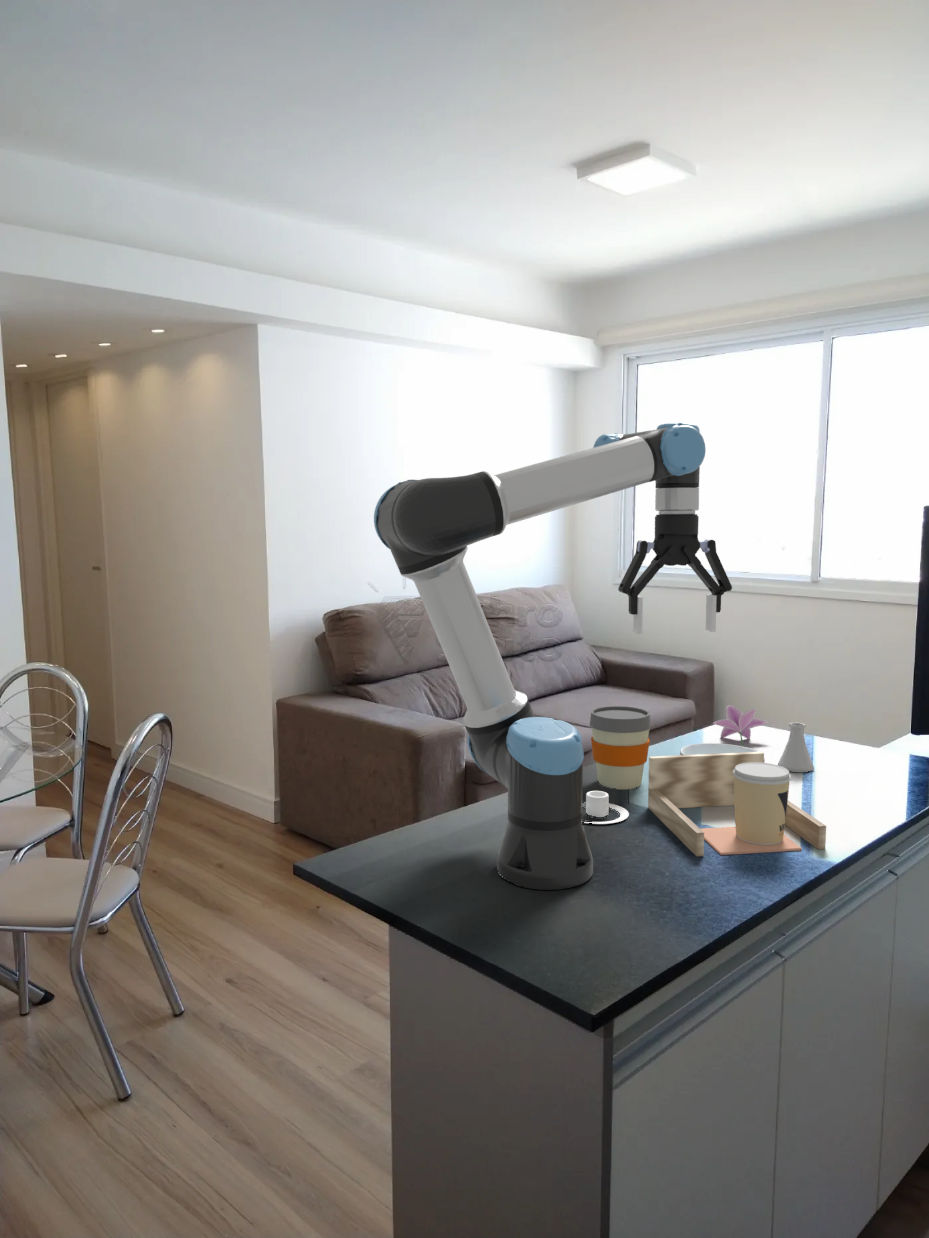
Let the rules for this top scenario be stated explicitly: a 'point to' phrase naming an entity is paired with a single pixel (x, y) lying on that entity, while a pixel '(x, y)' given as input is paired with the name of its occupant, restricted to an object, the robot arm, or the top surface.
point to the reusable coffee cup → (620, 745)
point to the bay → (710, 794)
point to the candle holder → (602, 807)
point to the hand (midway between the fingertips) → (674, 631)
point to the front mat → (742, 842)
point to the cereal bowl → (713, 749)
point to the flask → (796, 751)
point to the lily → (739, 722)
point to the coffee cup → (760, 802)
